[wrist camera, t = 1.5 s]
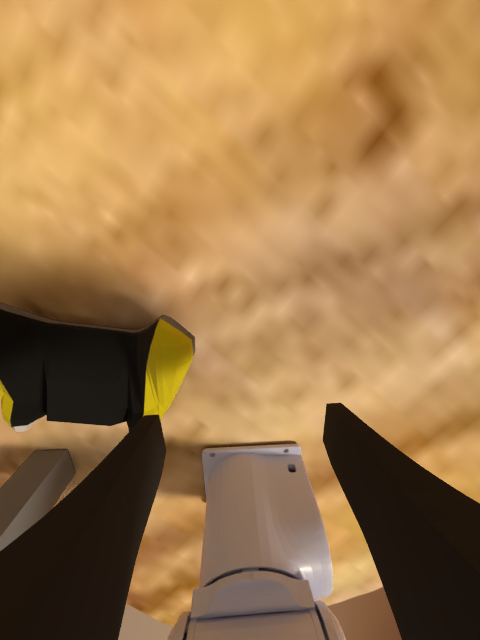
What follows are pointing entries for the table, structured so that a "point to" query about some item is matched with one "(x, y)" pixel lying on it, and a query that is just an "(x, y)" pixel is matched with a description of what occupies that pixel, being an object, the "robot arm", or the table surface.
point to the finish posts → (33, 492)
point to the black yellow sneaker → (88, 369)
